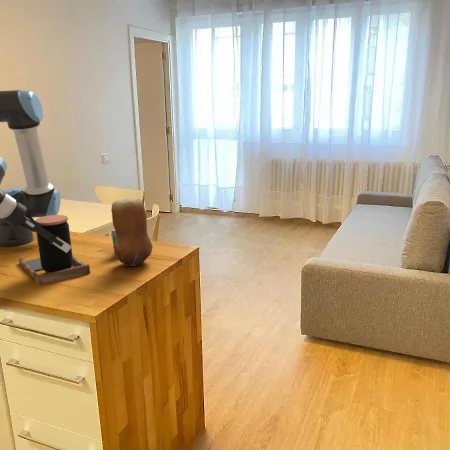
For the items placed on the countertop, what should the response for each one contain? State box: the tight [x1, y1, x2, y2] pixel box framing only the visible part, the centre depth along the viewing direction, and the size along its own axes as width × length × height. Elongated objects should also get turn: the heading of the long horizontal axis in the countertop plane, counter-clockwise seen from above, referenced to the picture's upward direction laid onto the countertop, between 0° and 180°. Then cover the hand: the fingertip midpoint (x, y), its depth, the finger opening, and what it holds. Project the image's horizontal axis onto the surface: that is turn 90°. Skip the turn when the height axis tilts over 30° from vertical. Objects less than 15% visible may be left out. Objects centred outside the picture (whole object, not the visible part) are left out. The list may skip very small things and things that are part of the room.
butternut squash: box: [110, 197, 154, 267], centre depth 160 cm, size 14×13×25 cm
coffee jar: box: [34, 214, 74, 273], centre depth 155 cm, size 11×11×18 cm
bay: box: [18, 254, 91, 286], centre depth 162 cm, size 28×17×3 cm, turn 37°
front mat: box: [24, 257, 44, 272], centre depth 168 cm, size 13×15×1 cm
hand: (63, 245), depth 157 cm, fingers closed on coffee jar, 11 cm apart
